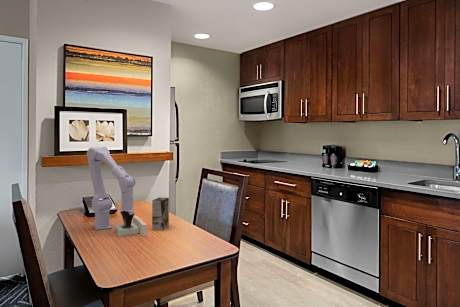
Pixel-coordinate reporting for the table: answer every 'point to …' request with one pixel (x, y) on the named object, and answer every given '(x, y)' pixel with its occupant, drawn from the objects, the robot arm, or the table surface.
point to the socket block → (126, 230)
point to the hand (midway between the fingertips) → (127, 225)
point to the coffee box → (160, 213)
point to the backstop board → (140, 225)
